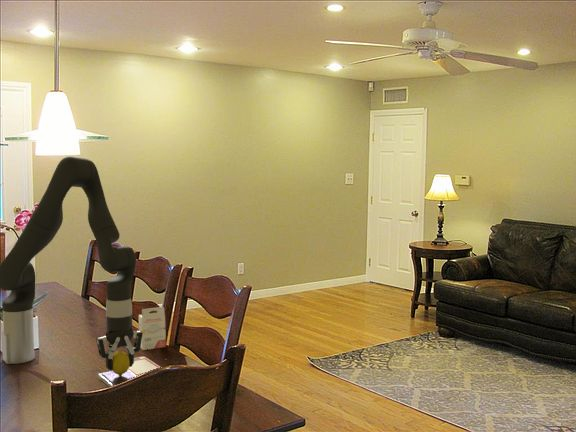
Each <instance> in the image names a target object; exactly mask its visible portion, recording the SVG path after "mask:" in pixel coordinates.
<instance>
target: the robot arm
mask: <svg viewBox="0 0 576 432" xmlns="http://www.w3.org/2000/svg"><path fill="white" fill-rule="evenodd" d="M71 188H81V189H82V190H83V192H84V194H85V195H86V198H87V201H88V211H87V221H88V224H89V227H90V230H91V232H92V234H93V237H94V238H95V241H96V247H97V253H98V261H99V265H100V267H101V268H102V269H103V270H104V271H105V272H107V273H115V272H117V273H116V275H115V276H114V277H113V278H111V279H108V281H107V282H106V304H105V305H106V306H105V317H106V318H105V319H106V320H105V321H106V322H105V323H106V324H105V325H106V326H105V327H106V333H105V334H104V336H101V337H99V336H98V337H96V338H95V340H96V346H97V351H98V355H99V357H102V358H103V359H105V367H106V370H108V371H112V370H113V360H112V356H113V354H114V353H116V349H118V348H121V347H125V350H126V351H127V353H126V354H127V355H128V357H129V361H130V365H129V367H132V364H134V358H135V353H137V352H138V353H139V352H140V351H141V348H140V347H141V340H142V332H140V331H139V330H136V331H135V330H133V304H132V289H131V286H132V281H133V277H134V273H135V269H136V265H137V256H136V252H135V250H134V249H133V248H132V247H130V246H119V247H118V246H117V247H113V244H114V243H116V242H117V241H118V240H119V239H120V235H121V234H120V232H119V229H118V227H117V225H116V223H115V221H114V218H113V216H112V214H111V212H110V210H109V205H108V204H107V200H106V197H105V193H104V189H103V185H102V182H101V178H100V175H99V171H98V168H97V166H96V164H95V162H93V160H90V159H88V158H84V157H79V156H78V157H77V156H73V155H72V156H71V155H70V156H65V157H63V158H62V159H60V161H59V162H58V163H57V166H56V167H55V170H54V172H53V174H52V176H51V179H50V181H49V183H48V186H47V187H46V190H45V192H44V194H43V196H42V197H41V199H40V201H39V203H38V204H37V207H35V209H34V211H33V213H31V216H30V217H29V219H28V221H27V223H26V225H25V226H24V229H23V230H22V232H21V233H20V235H19V237H18V239H17V240H16V241H15V244H14V246H13V247H12V249H11V250H10V251H9V252H8V253H7V255H6V256H5V257H4V259H3V260H2V262H1V263H0V290H3V291H10V293H9V295H8V296H7V297H6V298H5V299H4V300H3V302H2V305H1V307H2V308H1V309H2V332H1V347H2V348H1V349H2V351H1V352H2V360H3V361H4V362H5V364H6V365H10V364H11V365H13V364H15V365H17V364H25V363H28V362H30V361H33V360H35V339H34V338H35V335H34V307H33V306H34V305H33V304H34V301H35V298H36V271H35V267H34V266H33V265H34V264H32V262H31V261H32V260H33V259H34V257H36V256H37V255H38V254H39V253H40V252H42V251H43V250H44V249H45V248H47V246H48V245H49V244H50V243H51V242H52V241H53V239H54V238H55V236H56V235H57V234H58V231H59V230H60V228H61V226H62V224H63V221H64V213H63V210H64V209H63V203H64V199H65V198H66V196H67V194H68V192H69V191H70V189H71ZM132 338H134V341H133V345H132V342H131V339H132ZM106 341H107V342H108V345H107V347H106V349H105V344H106Z"/></svg>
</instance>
